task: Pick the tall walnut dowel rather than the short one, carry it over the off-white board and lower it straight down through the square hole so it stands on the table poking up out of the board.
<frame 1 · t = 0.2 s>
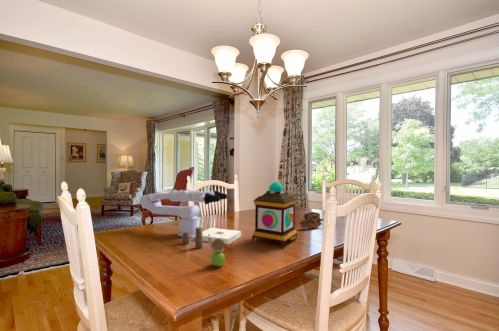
hand: (223, 197, 132), 21 cm above the table, tool horizontal, fingers open, 7 cm apart
hole board: (219, 237, 136), on the table
short dowel: (185, 243, 125), on the table
snail figurine: (216, 266, 99), on the table
wooden carving: (312, 228, 158), on the table
decorative lantern: (275, 241, 132), on the table
tall dowel: (198, 248, 119), on the table
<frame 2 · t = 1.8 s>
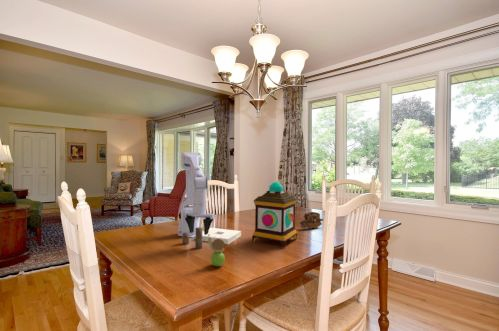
hand: (198, 233, 119), 7 cm above the table, tool pointing down, fingers open, 7 cm apart
nothing on the table moved.
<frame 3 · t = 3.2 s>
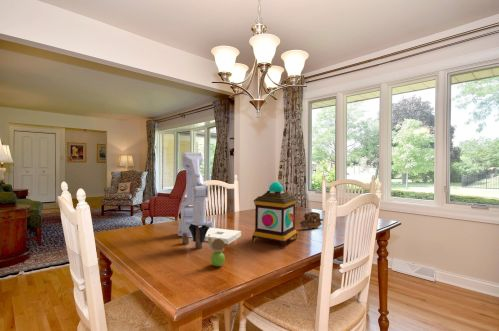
hand: (198, 241, 119), 3 cm above the table, tool pointing down, fingers closed on tall dowel, 3 cm apart
tall dowel: (198, 248, 119), on the table, touching gripper
everything else where it was.
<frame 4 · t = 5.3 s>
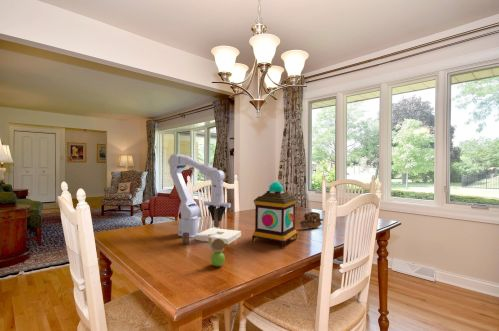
hand: (216, 220, 133), 9 cm above the table, tool pointing down, fingers closed on tall dowel, 3 cm apart
tall dowel: (216, 226, 133), point 6 cm above the table, touching gripper
everything else where it was.
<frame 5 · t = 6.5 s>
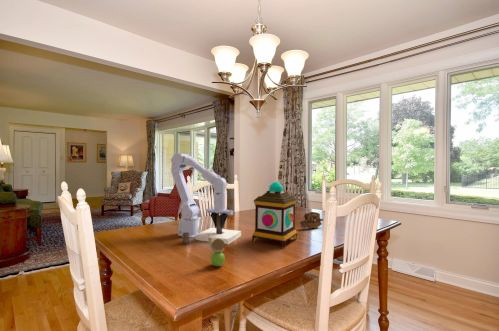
hand: (219, 227, 136), 5 cm above the table, tool pointing down, fingers closed on tall dowel, 3 cm apart
tall dowel: (219, 233, 136), point 2 cm above the table, touching gripper
everything else where it was.
when the fingers open (4 cm above the table, at t = 7.6 s): tall dowel drops 1 cm, resting in hole board.
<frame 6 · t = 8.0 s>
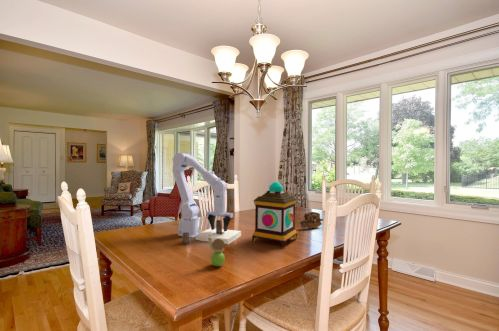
hand: (219, 230, 136), 4 cm above the table, tool pointing down, fingers open, 7 cm apart
tall dowel: (219, 237, 136), resting in hole board
everything else where it was.
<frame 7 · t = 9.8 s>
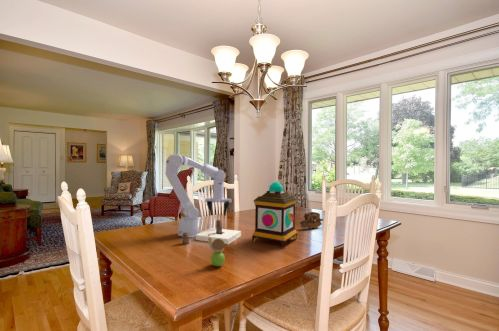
hand: (218, 215, 147), 9 cm above the table, tool pointing down, fingers open, 7 cm apart
nothing on the table moved.
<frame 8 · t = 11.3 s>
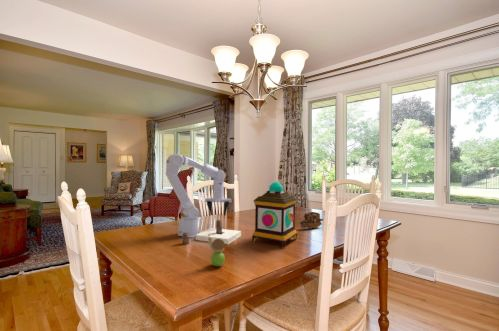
hand: (218, 215, 147), 9 cm above the table, tool pointing down, fingers open, 7 cm apart
nothing on the table moved.
at the end: tall dowel 0.0 cm off-centre on the hole board, point 0.0 cm above the hole board's base; tall dowel tilted 0°; short dowel moved 0.0 cm from its start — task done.
